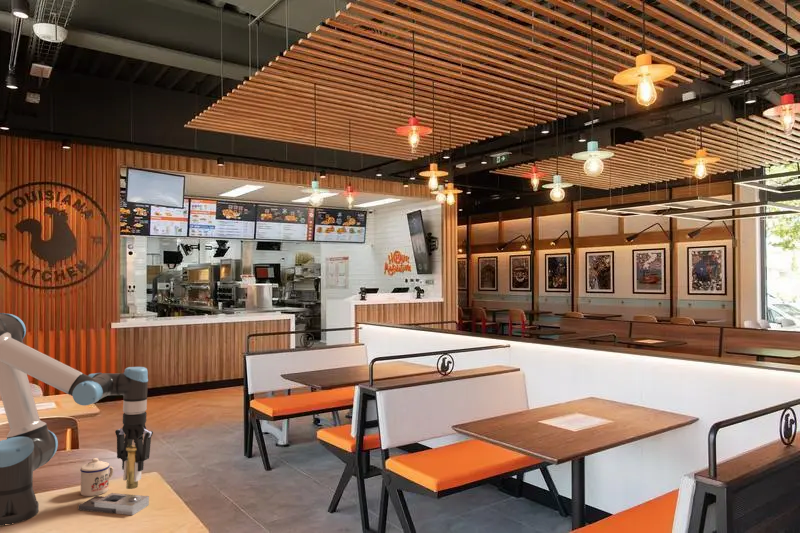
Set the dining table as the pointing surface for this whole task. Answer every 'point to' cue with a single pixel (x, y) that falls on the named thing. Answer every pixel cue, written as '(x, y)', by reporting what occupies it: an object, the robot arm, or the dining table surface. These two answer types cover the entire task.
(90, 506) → the lower chain end
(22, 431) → the robot arm
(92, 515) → the dining table surface
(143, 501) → the block
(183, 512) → the dining table surface
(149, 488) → the dining table surface
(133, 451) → the brass pin
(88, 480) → the teacup with lid
